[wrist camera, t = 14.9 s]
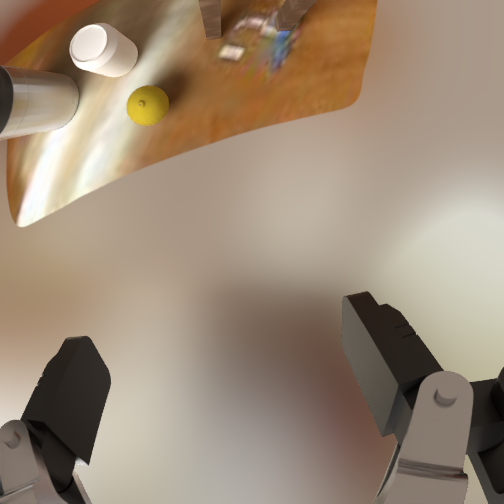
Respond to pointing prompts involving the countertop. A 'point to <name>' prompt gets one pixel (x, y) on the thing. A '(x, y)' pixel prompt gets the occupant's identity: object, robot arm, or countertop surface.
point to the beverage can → (103, 50)
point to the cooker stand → (285, 20)
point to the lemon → (147, 105)
